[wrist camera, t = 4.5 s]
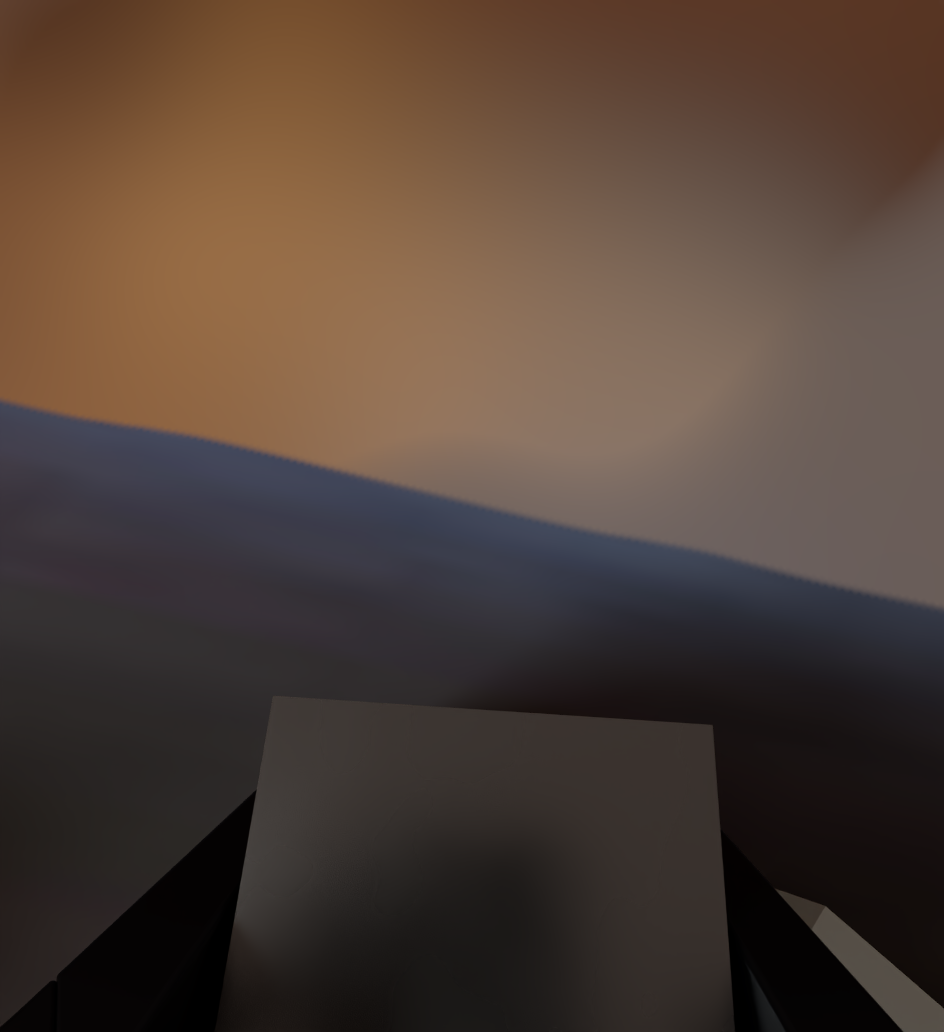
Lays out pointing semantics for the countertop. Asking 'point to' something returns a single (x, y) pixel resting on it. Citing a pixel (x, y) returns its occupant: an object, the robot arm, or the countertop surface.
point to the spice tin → (479, 875)
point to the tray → (871, 969)
